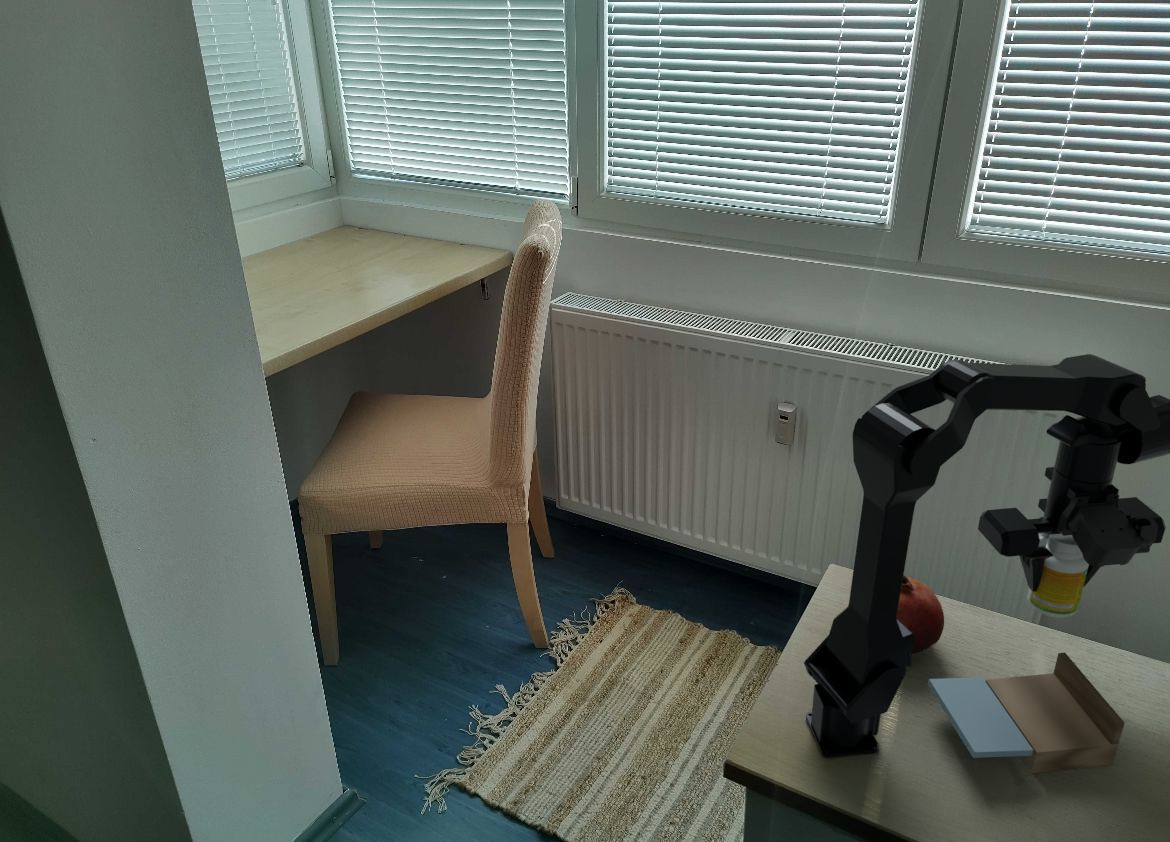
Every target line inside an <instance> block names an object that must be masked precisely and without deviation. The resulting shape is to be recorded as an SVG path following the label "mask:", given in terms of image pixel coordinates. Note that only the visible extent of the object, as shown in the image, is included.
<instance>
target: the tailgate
mask: <svg viewBox="0 0 1170 842" xmlns="http://www.w3.org/2000/svg"><path fill="white" fill-rule="evenodd" d="M985 681H986V679H984V678H983V677H957V678H956V677H953V678H928V681H927V682H928V683H927V686H928V688H929V689H930V691H931V692H932V693H933V695H934V697H935V698H936V701H937V702H938V704H939V705H940V706H941V708H942V710H943V712H944V713H945V715H946V717H947V718H948V720H949V722H950V723H951V724H952V726H953V728H954V729H955V731H956V733H957V734H958V736H959V738H960V740H961V741H962V742H963V744H964V746H965V747H966V749H967V750H968V752H969V754H970V756H971V757H972V758H973V759H974V758H975V759H977V758H978V759H979V758H980V759H981V758H1003V757H1004V758H1005V757H1008V758H1009V757H1020V756H1031V755H1032V752H1033V749H1032V747H1031V746H1030V745H1029V743H1028V742H1027V740H1026V739H1025V737H1024V736H1023V735H1022V733H1021V732H1020V730H1019V729H1018V727H1017V726H1016V725H1015V723H1014V722H1013V720H1012V719H1011V718H1010V716H1009V715H1008V713H1007V712H1006V710H1005V709H1004V708H1003V706H1002V705H1001V703H1000V702H999V700H998V699H997V698H996V696H995V695H994V693H993V692H992V690H991V689H990V688H989V686H988V685H987V683H986V682H985Z"/></svg>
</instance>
